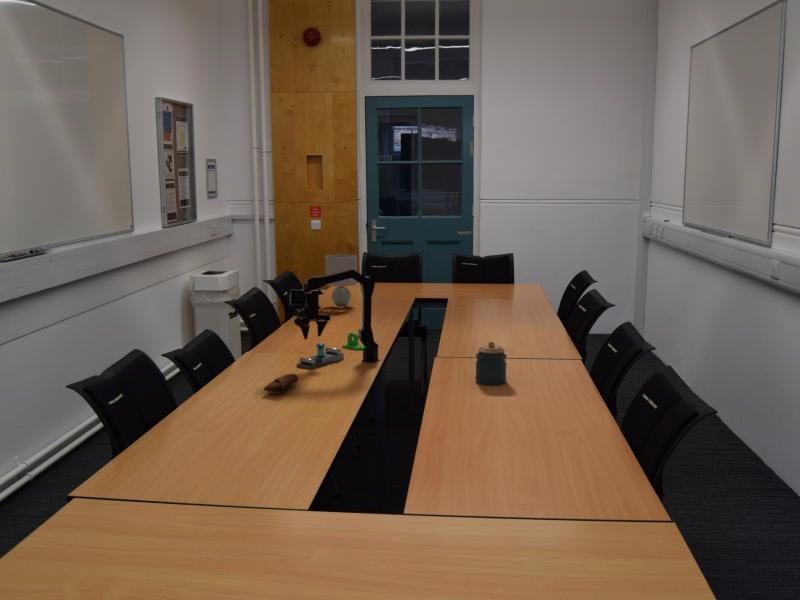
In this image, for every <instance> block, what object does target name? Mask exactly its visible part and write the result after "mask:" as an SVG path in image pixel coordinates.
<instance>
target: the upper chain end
mask: <svg viewBox="0 0 800 600" xmlns="http://www.w3.org/2000/svg"><path fill="white" fill-rule="evenodd" d="M344 355H345V354H344V352H342V350H341V348H340V349H339V348H335V347H329V346H327V347H326V346H325V347H324V358H317V354H316V355H312V356H309V357H307V358H309V359H315V360H316V362H321V363H322V362H326V361H329V360H333V363H336V362H338V361H342V360H344V359H345V358H344V357H345V356H344Z"/></svg>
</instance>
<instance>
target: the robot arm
mask: <svg viewBox="0 0 800 600" xmlns="http://www.w3.org/2000/svg"><path fill="white" fill-rule="evenodd" d="M350 278H353V279H354V280H356V281H357V283H359V286H360V291H361V295H362V305H361V306H362V309H361V310H362V314H361V315H362V318H361V319H362V320H361V323H362V324H361V325H362V326H361V328H360V329H358V330H357V332H358V334H357V335H358V341H359V342H360V343H361V344H362V346H364V347H365V348H363V350H362V360H361V362H364V363H371V364H374V363H376V362H379V361H381V359H379V344H378V343H377V342H376V341H375V338H374V337H375V336H374V332H373V329H372V304H373V303H372V301H373V300H372V298H373V293H374V289H375V287H376V283H375V280H374V279H373V278H372V277H370V276H368V275H365V276H364V275H363V274H361V273H360V272H358V271H357V272H356V271H355V270H354V269H349V270H346V271H342V272H337V273H333V274H329V275H326V274H324V275H311V276H308V277H307V278H306V280H305V284H304V285H303V286H302V288H301V289H290V290H289V291H290V292H289V305H290V306H291V305H303V304H304V303H305V302H306V303H305V304H306V305H304V307H303V309H300V308H296V309H294V313H293V314H294V317H295V318H294V321H293V322H294V325H296V326H297V327H299V328H300V330H301V333H302V335H303V339H304V340H308V335H309V331H310V327H311V325H310V323H312V322H315V323H316V327H317V336H318V337H321V336H322V333H323V331H324V330H325V327H326V326H327V324H328V323H329V321H331V316H330V314H329V313H322V312H321V313H320V309H322V306H320V296H321V295H324V292H323V291H322V290H321V289H320V288H322V287H325V286H328V285H327V284H330V283H334V282H338V281H342V280H346V279H350Z"/></svg>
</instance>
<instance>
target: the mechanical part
mask: <svg viewBox="0 0 800 600" xmlns="http://www.w3.org/2000/svg"><path fill="white" fill-rule="evenodd" d="M358 335H359V334H357V333H356V332H354V331H353V332H350V333H349V334H348V335H347V344H346V343H345V344H342V345H341V346H342V347H341V348H342V349H346V350H347V349H349V350H355V351H363V348H365V347H364V345H363V344H362V345H361V344H359V338H358Z"/></svg>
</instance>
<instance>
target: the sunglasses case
mask: <svg viewBox="0 0 800 600" xmlns="http://www.w3.org/2000/svg"><path fill="white" fill-rule="evenodd" d="M298 381H299V377H298V375H297V374H296V373H290V374H285V375H282V376H279V377H277V378H275V379H273V381H271V382H269V383H268V384H267V385H266V386H264V388H263V390H264V391H266V392H270V393H273V394H278V395H279V394H281V393H283V392H284V391H285V390H286V389H288V388H289V387H291V386H292V385H294V384H295V383H297V382H298Z"/></svg>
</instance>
